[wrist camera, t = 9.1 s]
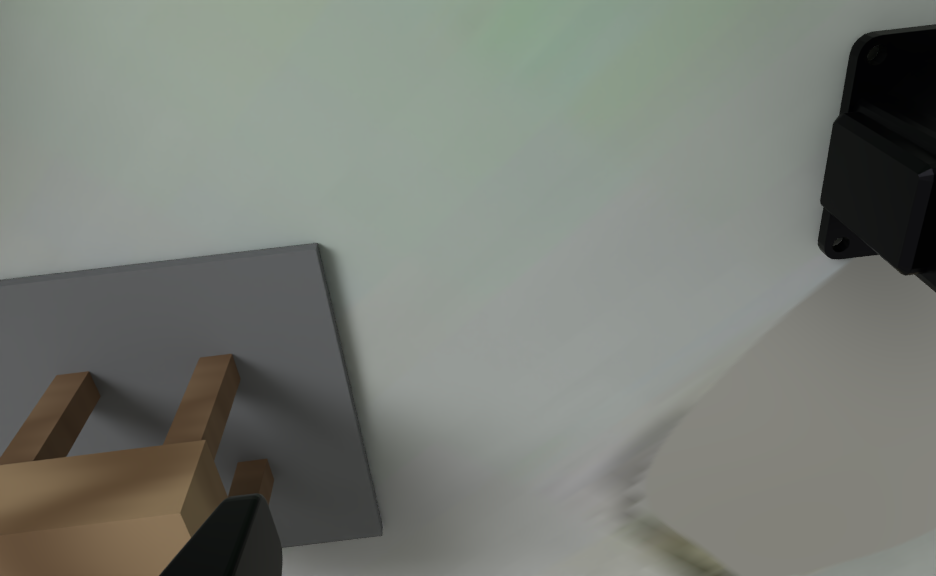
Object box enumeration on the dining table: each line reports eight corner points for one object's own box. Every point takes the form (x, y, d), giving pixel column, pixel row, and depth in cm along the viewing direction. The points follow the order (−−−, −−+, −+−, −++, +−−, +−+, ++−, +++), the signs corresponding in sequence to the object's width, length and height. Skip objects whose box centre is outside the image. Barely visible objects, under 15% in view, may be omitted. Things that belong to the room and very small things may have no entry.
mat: (317, 242, 21) (315, 249, 21) (382, 527, 27) (382, 535, 27) (-99, 291, 21) (-107, 298, 21) (61, 565, 27) (57, 574, 27)
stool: (239, 344, 22) (180, 513, 16) (285, 484, 25) (248, 667, 20) (42, 368, 22) (-85, 545, 16) (112, 506, 25) (26, 695, 20)
